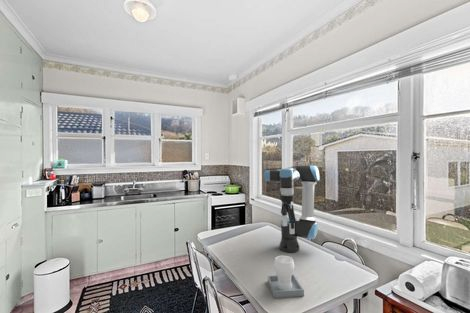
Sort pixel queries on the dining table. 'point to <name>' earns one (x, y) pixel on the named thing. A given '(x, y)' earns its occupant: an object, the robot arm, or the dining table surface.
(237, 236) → the dining table surface
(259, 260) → the dining table surface
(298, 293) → the tray
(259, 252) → the dining table surface
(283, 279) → the cup
